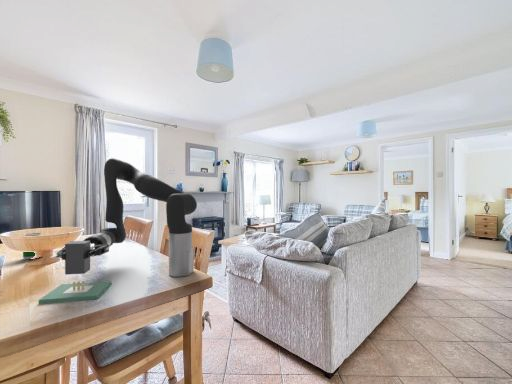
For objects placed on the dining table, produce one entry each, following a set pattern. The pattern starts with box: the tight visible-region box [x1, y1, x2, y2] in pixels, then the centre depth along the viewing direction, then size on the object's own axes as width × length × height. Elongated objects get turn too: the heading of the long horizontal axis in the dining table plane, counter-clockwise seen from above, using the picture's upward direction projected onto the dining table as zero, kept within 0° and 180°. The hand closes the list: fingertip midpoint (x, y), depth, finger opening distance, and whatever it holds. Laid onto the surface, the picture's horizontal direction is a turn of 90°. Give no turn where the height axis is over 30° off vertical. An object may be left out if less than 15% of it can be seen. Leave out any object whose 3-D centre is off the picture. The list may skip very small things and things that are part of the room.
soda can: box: [22, 232, 43, 259], centre depth 119 cm, size 8×8×12 cm
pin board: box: [38, 280, 113, 305], centre depth 80 cm, size 16×12×4 cm
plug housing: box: [64, 240, 91, 275], centre depth 80 cm, size 6×4×10 cm
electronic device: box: [56, 247, 65, 257], centre depth 129 cm, size 9×6×15 cm
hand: (74, 256), depth 78 cm, fingers closed on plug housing, 5 cm apart
